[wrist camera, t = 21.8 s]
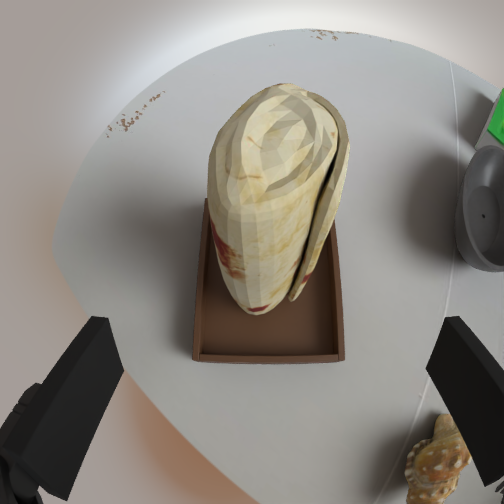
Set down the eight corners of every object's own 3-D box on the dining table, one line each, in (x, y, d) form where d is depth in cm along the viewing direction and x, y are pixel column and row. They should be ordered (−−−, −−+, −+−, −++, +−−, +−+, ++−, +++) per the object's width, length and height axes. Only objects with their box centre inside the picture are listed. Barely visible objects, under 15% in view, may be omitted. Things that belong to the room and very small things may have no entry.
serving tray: (198, 361, 27) (192, 360, 25) (208, 211, 34) (204, 197, 31) (337, 362, 27) (345, 360, 25) (326, 212, 34) (332, 199, 31)
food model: (255, 227, 32) (252, 53, 14) (316, 249, 31) (376, 85, 13) (216, 313, 29) (147, 189, 10) (283, 339, 27) (335, 254, 9)
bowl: (418, 252, 31) (444, 227, 26) (462, 154, 38) (479, 129, 32) (486, 311, 28) (518, 296, 22) (514, 200, 35) (535, 179, 29)
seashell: (442, 471, 23) (458, 526, 14) (383, 471, 26) (387, 532, 16) (473, 410, 23) (507, 461, 13) (411, 408, 25) (431, 469, 15)
